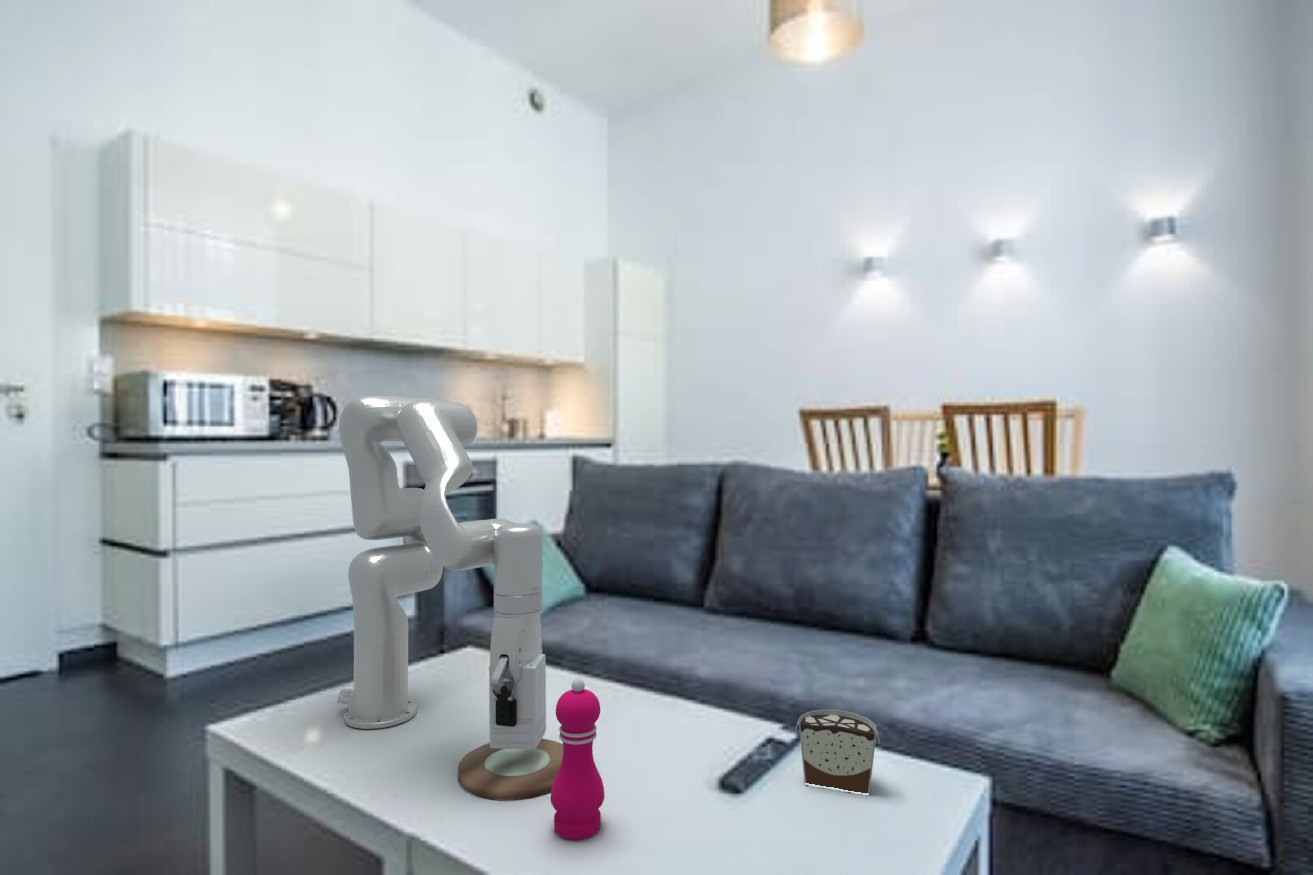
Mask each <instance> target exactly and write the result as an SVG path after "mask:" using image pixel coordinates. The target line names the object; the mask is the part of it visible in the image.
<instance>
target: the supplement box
mask: <svg viewBox="0 0 1313 875" xmlns="http://www.w3.org/2000/svg"><path fill="white" fill-rule="evenodd" d="M546 664H547V663H546V654H545V653H542V654H540V655H539V656H537V657H536V658H535V659H534V660H532V661H531V662H530V663H528V664H527V665H525V666H524V667H523V669H522V677H521V680H520V681H519V682H517V687H516V692H515V696H514V699H517V724H516V725H515V726H514V727H509V726H499V725H496V700H495V699H494V693H493V688H492V685H491V682H490V681H491V679H490V676H488V677H489V683H488V684H489V685H488V686H489V688H488V689H489V691H488V692H489V699H488V700H489V704H488V705H489V708H488V709H489V713H488V714H489V716H488V717H489V719H488V720H489V721H488V722H489V743H490V748H499V749H526V750H535V749H536V747H537V746H538V744H539V742H540V741H541V739H543V737H544V736H545V734H546V732H547V696H546V694H547V690H546V689H547V686H546V685H547V680H546V679H547V676H546V674H547V673H546V671H547V668H546V666H547V665H546ZM489 668H490V666H488V669H489ZM504 678H513V674H511V672H510V670H509V667H508V669H507V671H506V673H505V676H504ZM503 685H504V686H506V687H507V689H508V690H510V685H511V684H509V683H504V684H503Z"/></svg>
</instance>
